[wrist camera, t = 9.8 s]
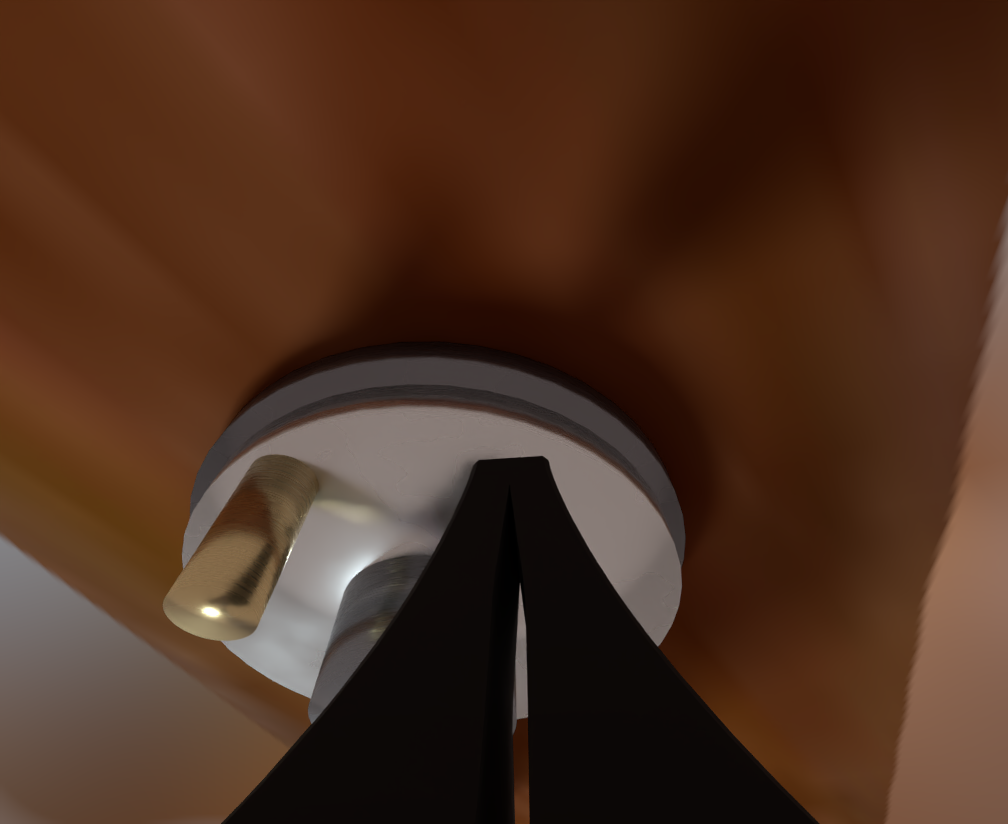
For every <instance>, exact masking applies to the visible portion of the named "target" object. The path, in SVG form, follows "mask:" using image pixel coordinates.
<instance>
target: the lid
mask: <svg viewBox="0 0 1008 824" xmlns="http://www.w3.org/2000/svg"><path fill="white" fill-rule="evenodd" d="M431 556H432V555H407V556H400V557H394V558H390V559H386V560H383V561H380V562H377V563H375V564H373V565H371V566H369V567H367V568H365V569H363V570H362V571H361V572H359V573H358V574H357V575H356V576H354V577H353V578H352V579H351V581H350V582H349V583H348V585H347V587H346V589H345V591H344V594H343V597H342V600H341V603H340V606H339V610H338V613H337V616H336V619H335V622H334V626H333V629H332V632H331V635H330V639H329V642H328V645H327V648H326V651H325V655H324V658H323V661H322V664H321V667H320V671H319V674H318V677H317V680H316V683H315V687H314V690H313V693H312V696H311V700H310V703H309V708H308V714H309V718H310V721H311V723H313V722H314V721H315V720H316V719H317V717H318V716H319V715H320V714H321V713H322V711H323V710H324V709H325V708H326V707H327V705H328V704H329V703H330V702H331V701H332V699H333V698H334V697H335V696H336V694H337V693H338V692H339V691H340V689H341V688H342V687H343V686H344V684H345V683H346V682H347V680H348V679H349V678H350V676H351V675H352V674H353V672H354V671H355V670H356V669H357V667H358V666H359V665H360V663H361V662H362V661H363V659H364V658H365V657H366V655H367V654H368V653H369V651H370V650H371V649H372V647H373V646H374V645H375V643H376V642H377V641H378V639H379V638H380V636H381V635H382V633H383V632H384V631H385V629H386V628H387V626H388V625H389V623H390V622H391V621H392V619H393V618H394V616H395V615H396V613H397V612H398V610H399V609H400V607H401V606H402V604H403V602H404V601H405V599H406V598H407V596H408V595H409V593H410V591H411V590H412V588H413V587H414V585H415V583H416V581H417V580H418V578H419V576H420V575H421V573H422V571H423V570H424V568H425V566H426V565H427V563H428V561H429V559H430V558H431ZM516 723H517V713H516V661H515V678H514V695H513V734H514V731H515V729H516Z"/></svg>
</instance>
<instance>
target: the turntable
mask: <svg viewBox="0 0 1008 824" xmlns="http://www.w3.org/2000/svg"><path fill="white" fill-rule="evenodd" d="M531 456H544V457H545V458H546V459H548V460H549V464H550V468H551V471H552V474H553V477H554V480H555V482H556V485H557V487H558V490H559V492H560V494H561V496H562V498H563V501H564V503H565V505H566V507H567V509H568V511H569V513H570V515H571V517H572V519H573V521H574V522H575V524H576V526H577V528H578V530H579V531H580V533H581V535H582V537H583V538H584V540H585V542H586V544H587V546H588V547H589V549H590V551H591V552H592V554H593V556H594V557H595V559H596V560H597V562H598V564H599V565H600V567H601V568H602V570H603V571H604V573H605V574H606V576H607V578H608V579H609V581H610V582H611V584H612V585H613V587H614V588H615V590H616V591H617V593H618V594H619V595H620V597H621V598H622V600H623V601H624V603H625V604H626V605H627V607H628V608H629V610H630V611H631V612H632V614H633V615H634V616H635V618H636V619H637V620H638V622H639V623H640V624H641V626H642V627H643V628H644V630H645V631H646V632H647V634H648V635H649V636H650V638H651V639H652V640H653V641H654V643H655V644H656V645H657V646H659V645H660V644H661V642H662V641H663V639H664V638H665V636H666V634H667V633H668V631H669V629H670V627H671V626H672V624H673V621H674V618H675V616H676V613H677V610H678V607H679V602H680V596H681V589H682V579H681V565H680V561H679V558H678V554H677V551H676V547H675V544H674V541H673V538H672V535H671V533H670V530H669V527H668V524H667V521H666V519H665V516H664V513H663V510H662V508H661V506H660V504H659V502H658V500H657V498H656V496H655V494H654V492H653V490H652V488H651V487H650V486H649V485H648V483H647V482H646V481H645V479H644V478H643V477H642V475H641V474H640V473H639V471H638V470H637V469H636V467H635V466H634V465H632V464H631V463H630V462H629V461H628V460H627V459H626V458H625V457H624V456H623V455H622V454H621V453H620V452H619V451H618V450H617V449H616V448H615V447H613V446H612V445H611V444H609V443H608V442H606V441H605V440H603V439H602V438H601V437H599V436H598V435H596V434H595V433H594V432H592V431H591V430H589V429H588V428H586V427H584V426H582V425H580V424H578V423H576V422H574V421H573V420H571V419H569V418H567V417H565V416H563V415H561V414H559V413H557V412H554V411H552V410H549V409H546V408H544V407H541V406H539V405H536V404H533V403H531V402H528V401H525V400H522V399H518V398H514V397H510V396H506V395H502V394H498V393H494V392H490V391H486V390H479V389H472V388H464V387H457V386H449V385H416V384H406V385H395V386H384V387H373V388H366V389H361V390H357V391H352V392H347V393H343V394H338V395H333V396H330V397H327V398H325V399H322V400H319V401H316V402H313V403H310V404H307V405H305V406H302V407H299V408H297V409H295V410H293V411H292V412H290V413H288V414H286V415H284V416H282V417H280V418H278V419H276V420H274V421H272V422H271V423H269V424H268V425H267V426H265V427H264V428H262V429H261V430H260V431H258V432H257V433H256V434H254V435H253V436H252V437H250V438H249V439H248V440H247V441H246V442H245V443H244V444H243V445H242V446H241V447H240V448H239V449H238V450H237V451H236V452H235V453H234V454H233V455H232V456H231V457H230V458H229V460H228V461H227V462H226V464H225V465H224V467H223V468H222V469H221V471H220V472H219V474H218V475H217V476H216V478H215V479H214V481H213V482H212V483H211V485H210V486H209V488H208V489H207V490H206V492H205V493H204V495H203V497H202V498H201V500H200V501H199V503H198V504H197V506H196V507H195V509H194V511H193V512H192V515H191V518H190V520H189V523H188V526H187V529H186V531H185V535H184V543H183V551H182V561H183V571H182V572H181V574H180V576H179V577H178V579H177V580H176V582H175V583H174V585H173V586H172V588H171V589H170V591H169V593H168V594H167V596H166V597H165V599H164V601H163V609H164V612H165V614H166V615H167V617H168V618H169V619H170V620H171V621H172V622H173V623H174V624H175V625H177V626H178V627H180V628H181V629H183V630H185V631H187V632H189V633H191V634H193V635H196V636H199V637H203V638H207V639H212V640H220V641H222V642H223V643H224V644H225V645H226V647H227V648H228V649H229V650H230V651H232V652H233V653H234V654H235V655H237V656H238V657H239V658H240V659H242V660H243V661H244V662H245V663H247V664H248V665H249V666H251V667H252V668H254V669H255V670H257V671H258V672H260V673H262V674H263V675H265V676H266V677H268V678H269V679H271V680H273V681H275V682H277V683H279V684H281V685H283V686H284V687H286V688H288V689H290V690H292V691H295V692H297V693H299V694H302V695H304V696H306V697H309V698H311V696H312V693H313V690H314V687H315V683H316V680H317V677H318V674H319V671H320V667H321V664H322V661H323V658H324V655H325V651H326V648H327V645H328V642H329V639H330V635H331V632H332V629H333V626H334V622H335V619H336V616H337V613H338V610H339V606H340V603H341V600H342V597H343V594H344V591H345V589H346V587H347V585H348V583H349V582H350V581H351V579H352V578H353V577H354V576H356V575H357V574H358V573H359V572H361V571H362V570H363V569H365V568H367V567H369V566H371V565H373V564H375V563H377V562H380V561H383V560H386V559H390V558H394V557H400V556H407V555H432V554H433V553H434V551H435V549H436V547H437V545H438V543H439V541H440V539H441V537H442V535H443V534H444V532H445V530H446V528H447V526H448V524H449V522H450V520H451V518H452V516H453V514H454V512H455V510H456V507H457V505H458V503H459V501H460V499H461V496H462V494H463V492H464V489H465V487H466V484H467V482H468V479H469V476H470V474H471V470H472V467H473V465H474V464H475V463H476V462H477V461H478V460H485V459H500V458H516V457H531ZM516 713H517V719H521V718H526V717H528V696H527V651H526V624H525V617H524V609H523V602H522V594H521V586H520V591H519V609H518V627H517V644H516Z"/></svg>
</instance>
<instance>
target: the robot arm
mask: <svg viewBox="0 0 1008 824" xmlns="http://www.w3.org/2000/svg"><path fill="white" fill-rule="evenodd" d="M520 586H521V594H522V602H523V609H524V617H525V624H526V651H527V696H528V747H529V804H530V824H819V823H818V822H817V821H816V820H815V819H814V818H813V817H812V816H811V815H810V814H809V813H808V812H807V811H806V810H805V809H804V808H803V807H802V806H801V805H800V804H799V803H798V802H797V801H796V800H795V799H794V798H793V797H792V796H791V795H790V794H789V793H788V792H787V791H786V790H785V789H784V788H783V787H782V786H781V785H780V784H779V783H778V782H777V780H776V779H775V778H774V777H773V776H772V775H771V774H770V773H769V772H768V771H767V770H766V769H765V768H764V767H763V766H762V765H761V764H760V763H759V761H758V760H757V759H756V758H755V757H754V756H753V755H752V754H751V753H750V752H749V751H748V750H747V749H746V748H745V747H744V746H743V745H742V744H741V743H740V741H739V740H738V739H737V738H736V737H735V736H734V735H733V734H732V733H731V732H730V731H729V729H728V728H727V727H726V726H725V725H724V724H723V723H722V722H721V720H720V719H719V718H718V717H717V716H716V715H715V714H714V712H713V711H712V710H711V709H710V708H709V707H708V706H707V704H706V703H705V702H704V701H703V700H702V699H701V698H700V696H699V695H698V694H697V693H696V692H695V691H694V690H693V688H692V687H691V686H690V685H689V684H688V683H687V682H686V681H685V679H684V678H683V677H682V676H681V675H680V674H679V673H678V671H677V670H676V669H675V668H674V666H673V665H672V664H671V663H670V661H669V660H668V659H667V658H666V656H665V655H664V654H663V653H662V651H661V650H660V649H659V648H658V646H657V645H656V644H655V643H654V641H653V640H652V639H651V638H650V636H649V635H648V634H647V632H646V631H645V630H644V628H643V627H642V626H641V624H640V623H639V622H638V620H637V619H636V618H635V616H634V615H633V614H632V612H631V611H630V610H629V608H628V607H627V605H626V604H625V603H624V601H623V600H622V598H621V597H620V595H619V594H618V593H617V591H616V590H615V588H614V587H613V585H612V584H611V582H610V581H609V579H608V578H607V576H606V574H605V573H604V571H603V570H602V568H601V567H600V565H599V564H598V562H597V560H596V559H595V557H594V556H593V554H592V552H591V551H590V549H589V547H588V546H587V544H586V542H585V540H584V538H583V537H582V535H581V533H580V531H579V530H578V528H577V526H576V524H575V522H574V521H573V519H572V517H571V515H570V513H569V511H568V509H567V507H566V505H565V503H564V501H563V498H562V496H561V494H560V492H559V490H558V487H557V485H556V482H555V480H554V477H553V474H552V471H551V468H550V464H549V460H548V459H546V458H545V457H544V456H531V457H516V458H500V459H485V460H478V461H477V462H476V463H475V464H474V465H473V467H472V470H471V474H470V476H469V479H468V482H467V484H466V487H465V489H464V492H463V494H462V496H461V499H460V501H459V503H458V505H457V507H456V510H455V512H454V514H453V516H452V518H451V520H450V522H449V524H448V526H447V528H446V530H445V532H444V534H443V535H442V537H441V539H440V541H439V543H438V545H437V547H436V549H435V551H434V553H433V554H432V556H431V558H430V559H429V561H428V563H427V565H426V566H425V568H424V570H423V571H422V573H421V575H420V576H419V578H418V580H417V581H416V583H415V585H414V587H413V588H412V590H411V591H410V593H409V595H408V596H407V598H406V599H405V601H404V602H403V604H402V606H401V607H400V609H399V610H398V612H397V613H396V615H395V616H394V618H393V619H392V621H391V622H390V623H389V625H388V626H387V628H386V629H385V631H384V632H383V633H382V635H381V636H380V638H379V639H378V641H377V642H376V643H375V645H374V646H373V647H372V649H371V650H370V651H369V653H368V654H367V655H366V657H365V658H364V659H363V661H362V662H361V663H360V665H359V666H358V667H357V669H356V670H355V671H354V672H353V674H352V675H351V676H350V678H349V679H348V680H347V682H346V683H345V684H344V686H343V687H342V688H341V689H340V691H339V692H338V693H337V694H336V696H335V697H334V698H333V699H332V701H331V702H330V703H329V704H328V705H327V707H326V708H325V709H324V710H323V711H322V713H321V714H320V715H319V716H318V717H317V719H316V720H315V721H314V722H313V723H312V724H311V725H310V727H309V728H308V729H307V730H306V731H305V732H304V733H303V735H302V736H301V737H300V738H299V739H298V740H297V741H296V743H295V744H294V745H293V746H292V747H291V748H290V749H289V751H288V752H287V753H286V754H285V755H284V756H283V757H282V759H281V760H280V761H279V762H278V763H277V764H276V765H275V767H274V768H273V769H272V770H271V771H270V772H269V773H268V775H267V776H266V777H265V778H264V779H263V780H262V781H261V782H260V783H259V785H257V787H256V788H255V789H254V790H253V791H252V792H251V793H250V794H249V795H248V796H247V797H246V798H245V800H244V801H243V802H242V803H241V804H240V805H239V806H238V807H237V808H236V809H235V810H234V811H233V812H232V813H231V814H230V815H229V816H228V817H227V818H226V819H225V820H224V821H223V822H222V823H221V824H515V809H514V768H513V695H514V678H515V661H516V644H517V627H518V609H519V591H520Z"/></svg>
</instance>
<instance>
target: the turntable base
mask: <svg viewBox="0 0 1008 824" xmlns="http://www.w3.org/2000/svg"><path fill="white" fill-rule="evenodd" d="M406 384H416V385H449V386H457V387H464V388H472V389H479V390H486V391H490V392H494V393H498V394H502V395H506V396H510V397H514V398H518V399H522V400H525V401H528V402H531V403H533V404H536V405H539V406H541V407H544V408H546V409H549V410H552V411H554V412H557V413H559V414H561V415H563V416H565V417H567V418H569V419H571V420H573V421H574V422H576V423H578V424H580V425H582V426H584V427H586V428H588V429H589V430H591V431H592V432H594V433H595V434H596V435H598V436H599V437H601V438H602V439H603V440H605V441H606V442H608V443H609V444H611V445H612V446H613V447H615V448H616V449H617V450H618V451H619V452H620V453H621V454H622V455H623V456H624V457H625V458H626V459H627V460H628V461H629V462H630V463H631V464H632V465H634V466H635V467H636V469H637V470H638V471H639V473H640V474H641V475H642V477H643V478H644V479H645V481H646V482H647V483H648V485H649V486H650V487H651V488H652V490H653V492H654V494H655V496H656V498H657V500H658V502H659V504H660V506H661V508H662V510H663V513H664V516H665V519H666V521H667V524H668V527H669V530H670V533H671V535H672V538H673V541H674V544H675V547H676V551H677V554H678V558H679V561H680V565H681V567H682V564H683V560H684V550H685V529H684V521H683V514H682V511H681V508H680V505H679V502H678V499H677V496H676V493H675V490H674V488H673V485H672V483H671V480H670V478H669V475H668V473H667V470H666V468H665V466H664V464H663V462H662V460H661V459H660V457H659V455H658V453H657V451H656V450H655V448H654V446H653V444H652V443H651V442H650V441H649V439H648V438H647V437H646V436H645V434H644V433H643V432H642V431H641V429H640V428H639V427H638V426H637V424H636V423H635V422H634V421H633V420H632V419H631V418H630V417H628V416H627V415H626V414H625V413H624V412H623V411H622V410H621V409H620V408H619V407H617V406H616V405H615V404H614V403H613V402H612V401H610V400H609V399H607V398H606V397H605V396H603V395H602V394H600V393H599V392H597V391H596V390H594V389H593V388H591V387H590V386H588V385H587V384H585V383H584V382H582V381H580V380H578V379H576V378H574V377H572V376H570V375H568V374H566V373H564V372H562V371H560V370H558V369H556V368H554V367H551V366H548V365H546V364H543V363H540V362H537V361H534V360H531V359H529V358H526V357H523V356H520V355H517V354H513V353H508V352H504V351H499V350H495V349H490V348H486V347H481V346H475V345H465V344H455V343H445V342H401V343H392V344H385V345H378V346H371V347H363V348H359V349H355V350H351V351H347V352H344V353H340V354H336V355H333V356H329V357H325V358H323V359H321V360H318V361H316V362H314V363H311V364H309V365H307V366H304V367H302V368H299V369H297V370H295V371H293V372H291V373H289V374H288V375H286V376H285V377H283V378H281V379H280V380H278V381H276V382H275V383H273V384H272V385H270V386H268V387H267V388H265V389H264V390H263V391H262V392H261V393H260V394H258V395H257V396H256V397H255V398H254V399H253V400H252V401H250V402H249V403H248V404H247V405H246V406H245V407H244V408H243V409H242V410H241V411H240V413H239V414H238V415H237V416H236V418H235V419H234V420H233V421H232V422H231V424H230V425H229V426H228V427H227V429H226V430H225V431H224V433H223V434H222V435H221V436H220V438H219V439H218V440H217V442H216V443H215V444H214V445H213V447H212V448H211V449H210V450H209V452H208V454H207V456H206V458H205V460H204V462H203V464H202V466H201V468H200V470H199V472H198V473H197V477H196V480H195V484H194V488H193V491H192V495H191V506H190V518H191V515H192V512H193V511H194V509H195V507H196V506H197V504H198V503H199V501H200V500H201V498H202V497H203V495H204V493H205V492H206V490H207V489H208V488H209V486H210V485H211V483H212V482H213V481H214V479H215V478H216V476H217V475H218V474H219V472H220V471H221V469H222V468H223V467H224V465H225V464H226V462H227V461H228V460H229V458H230V457H231V456H232V455H233V454H234V453H235V452H236V451H237V450H238V449H239V448H240V447H241V446H242V445H243V444H244V443H245V442H246V441H247V440H248V439H249V438H250V437H252V436H253V435H254V434H256V433H257V432H258V431H260V430H261V429H262V428H264V427H265V426H267V425H268V424H269V423H271V422H272V421H274V420H276V419H278V418H280V417H282V416H284V415H286V414H288V413H290V412H292V411H293V410H295V409H297V408H299V407H302V406H305V405H307V404H310V403H313V402H316V401H319V400H322V399H325V398H327V397H330V396H333V395H338V394H343V393H347V392H352V391H357V390H361V389H366V388H373V387H384V386H395V385H406Z"/></svg>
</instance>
